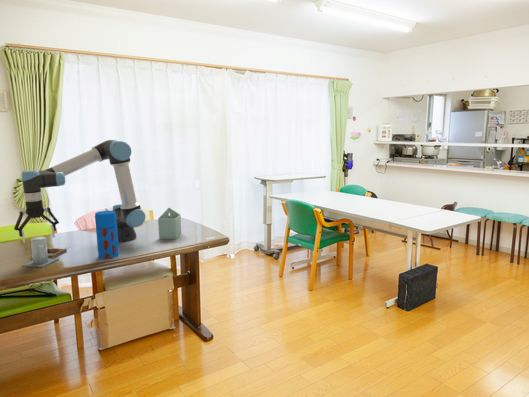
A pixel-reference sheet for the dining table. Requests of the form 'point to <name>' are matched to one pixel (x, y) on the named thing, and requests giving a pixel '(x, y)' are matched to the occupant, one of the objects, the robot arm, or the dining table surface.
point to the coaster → (40, 264)
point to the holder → (59, 251)
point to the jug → (39, 250)
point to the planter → (169, 225)
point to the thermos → (106, 234)
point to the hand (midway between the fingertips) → (39, 239)
